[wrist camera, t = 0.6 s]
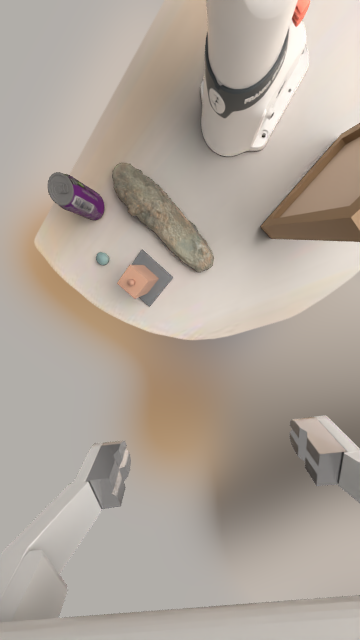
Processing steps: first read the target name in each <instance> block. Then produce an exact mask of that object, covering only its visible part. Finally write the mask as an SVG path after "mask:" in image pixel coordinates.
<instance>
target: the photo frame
mask: <svg viewBox="0 0 360 640" xmlns="http://www.w3.org/2000/svg"><path fill="white" fill-rule="evenodd" d="M260 227H261V228H262V229H263V230H264V231H265V233H266V234H267V235H268V236H269V237H270V238H271V239H295V240H324V241H354V242H360V123H359V124H357V125H356V126H354V127H352V128H351V129H349V130H347V131H346V132H344V133H342V134H341V135H340V136H339V137H338V139H337V140H336V141H335V142H334V143H333V144H332V145H331V147H330V148H329V149H328V150H327V151H326V152H325V153H324V154H323V156H322V157H321V158H320V159H319V160H318V161H317V162H316V164H315V165H314V166H313V167H312V168H311V169H310V170H309V172H308V173H307V174H306V175H305V176H304V177H303V178H302V180H301V181H300V182H299V183H298V184H297V185H296V186H295V188H294V189H293V190H292V191H291V192H290V193H289V194H288V196H287V197H286V198H285V199H284V200H283V201H282V202H281V204H280V205H279V206H278V207H277V208H276V209H275V210H274V212H273V213H272V214H271V215H270V216H269V217H268V218H267V220H266V221H265V222H264V223H263V224H262V225H261V226H260Z"/></svg>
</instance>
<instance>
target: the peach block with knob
mask: <svg viewBox="0 0 360 640" xmlns="http://www.w3.org/2000/svg"><path fill="white" fill-rule="evenodd" d="M158 279H159V278H158V277H157V276H156V275H155V274H153V273H152V272H151V271H150V270H149V269H148V268H147V267H146V266H144V265H129V267H128V268H127V269H126V271H125V272H124V274H123V275H122V277H121V278H120V280H119V281H118V283H117V284H118V285H119V286H121V287H122V288H123V289H124V290H125V291H126V292H128V293H129V294H130V295H131V296H132V297H133V298H134V299H136V298H138V297H140V296H143V295H145V294H147V293H148V292H149V291H150V290H151V288H152V287H153V286H154V284H155V283H156V282H157V281H158Z"/></svg>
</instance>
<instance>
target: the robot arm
mask: <svg viewBox="0 0 360 640" xmlns="http://www.w3.org/2000/svg"><path fill="white" fill-rule="evenodd" d="M309 4H310V0H206V7H207V26H208V31H207V37H206V45H205V67H204V79H203V80H202V82H201V99H202V103H203V107H202V116H201V127H202V133H203V137H204V139H205V141H206V143H207V145H208V146H209V147H210V148H211V149H212V150H213V151H214V152H215V153H217V154H219V155H222V156H235V155H238V154H240V153H243V152H245V151H259V150H261V149H263V148H264V146H265V144H266V143H267V141H268V139H269V137H270V136H271V134H272V132H273V130H274V128H275V127H276V125H277V123H278V121H279V120H280V118H281V116H282V114H283V113H284V111H285V109H286V107H287V106H288V104H289V102H290V100H291V98H292V97H293V95H294V93H295V91H296V90H297V88H298V86H299V84H300V83H301V81H302V79H303V77H304V75H305V74H306V71H307V69H308V67H309V53H308V48H307V45H306V30H305V26H304V23H303V21H302V19H303V17H304V16H305V14H306V12H307V9H308V7H309ZM301 54H302V55H301ZM262 135H264V136H265V138H262ZM290 426H291V428H292V431H291V432H290V441H291V444H292V447H293V449H294V451H295V452H296V454H297V455H298V457H299V458H301V459H302V460H304V461H305V468H306V470H307V472H308V473H309V474H310V476H311V478H312V480H313V481H314V483H315V484H316V486H320V485H335V484H339V485H338V486H340V487H341V488H342V489H343V490H344V491H345V492H347V493H348V494H349V495H351V497H353V498H354V499H355V500H357V501H358V502H359V503H360V449H359V448H358V447H357V446H356V445H355V444H354V443H353V442H352V441H351V440H350V439H349V438H348V437H347V436H346V435H345V434H344V433H343V432H342V431H341V430H340V429H339V428H338V427H337V426H336V425H335V424H334V423H333V422H332V421H331V420H330V419H329V418H328V417H327V416H316V417H306V418H300V419H293V420H291V421H290ZM126 446H127V445H126V443H125V441H115V442H105V443H95V444H93V445H92V447H91V448H90V450H89V452H88V454H87V456H86V458H85V460H84V462H83V464H82V466H81V468H80V470H79V472H78V474H77V476H76V478H75V480H74V482H73V483H70V484H69V485H68V486H67V487H66V488H65V489H64V490H63V491H62V492H61V493H60V494H59V495H58V496H57V497H56V498H55V499H54V500H53V501H52V502H51V503H50V504H49V505H48V506H47V507H46V508H45V509H44V510H43V511H42V512H41V513H40V514H39V515H38V516H37V517H36V519H34V521H32V522H31V523H30V524H29V525H28V526H27V527H26V528H25V529H24V530H23V532H21V534H20V535H18V537H17V538H15V539H14V540H13V541H12V543H11V544H10V545H9V546H8V547H7V548H6V549H5V550H4V551H3V552H2V553H1V555H0V640H360V595H356V596H344V597H343V596H342V597H328V598H315V599H303V600H289V601H277V602H262V603H249V604H236V605H223V606H209V607H197V608H183V609H171V610H157V611H143V612H132V613H131V612H130V613H118V614H104V615H90V616H77V617H64V618H59V615H60V612H61V609H62V606H63V603H64V600H65V597H66V594H67V591H68V589H67V584H66V583H65V582H64V580H63V579H62V577H61V576H60V573H61V571H62V570H63V568H64V567H65V565H66V564H67V562H68V561H69V559H70V558H71V556H72V555H73V553H74V552H75V550H76V549H77V547H78V546H79V544H80V543H81V541H82V540H83V538H84V537H85V535H86V534H87V532H88V531H89V529H90V528H91V526H92V524H93V523H94V521H95V520H96V518H97V517H98V516H99V514H100V512H101V511H102V510H101V509H105V508H112V507H119V506H121V503H122V499H123V495H124V491H125V484H124V481H125V479H126V478H127V477H128V475H129V471H130V462H131V460H130V454H129V452H128V451H127V450H125V449H126Z"/></svg>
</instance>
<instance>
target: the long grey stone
mask: <svg viewBox="0 0 360 640" xmlns="http://www.w3.org/2000/svg"><path fill="white" fill-rule="evenodd" d="M112 178H113V181H114V189H115V191H116V194H117V195H118V197H119V199H120V200H121V201H122V202H124V204H125V205H126V206H127V208H128V213H130V214H131V215H132V216H137V217H138V219H139V220H140V221H141V222H142V223H143V224H145V225H146V226H147V227H148V228H150V229H151V230H152V231H153V232H155V233H156V234H157V235H158V237H159V238H160V239H161V240H162V242H164V243H165V244H166V246H167V247H168V248H169V249H170V250H171V251H172V252H173V253H174V254H175V255H176V256H178V257H179V258H180V260H181V261H182V262H183V263H186V264H187V265H188V266H190V267H191V268H192V269H195V270H196V271H197V272H201V271H204V270H207V269H209V268H211V267H212V266H213V259H214V257H213V254H212V252H211V250H210V248H209V247H208V245H207V243H206V241H205V240H204V239H203V238H202V236H201V235H200V234H199V233H198V230H197V228H196V226H195V225H193V223H191V222H190V221H188V220H187V219H186V217H185V216H184V215H183V213H182V212H181V211H180V209H179V208H178V207H177V206H176V205H175V204H174V203H173V202H172V201H171V198H168V196H167V193H165V192H164V191H163V190H162V188H160V187H159V185H156V184H155V183H154V181H153V180H152V179H150V178H149V177H147V176H145V175H144V174H143V173H142V172H141V170H138V169H135V168H134V167H133V166H132V165H131V164H127V163H120V164H118V165H117V166H116V167H115V168H114V170H113V175H112Z"/></svg>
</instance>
